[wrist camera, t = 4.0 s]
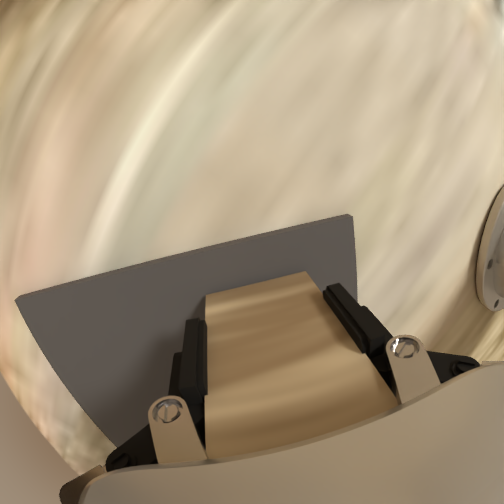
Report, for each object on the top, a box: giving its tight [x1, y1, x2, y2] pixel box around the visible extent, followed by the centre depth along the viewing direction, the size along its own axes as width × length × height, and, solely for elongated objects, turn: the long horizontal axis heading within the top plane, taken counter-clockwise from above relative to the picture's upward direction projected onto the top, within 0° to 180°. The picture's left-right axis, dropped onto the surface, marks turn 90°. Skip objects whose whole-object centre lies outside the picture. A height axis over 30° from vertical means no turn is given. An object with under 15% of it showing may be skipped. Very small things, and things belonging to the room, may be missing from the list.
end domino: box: [205, 271, 398, 459], centre depth 9 cm, size 2×5×12 cm, turn 101°
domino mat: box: [15, 214, 357, 448], centre depth 20 cm, size 20×36×1 cm, turn 12°
